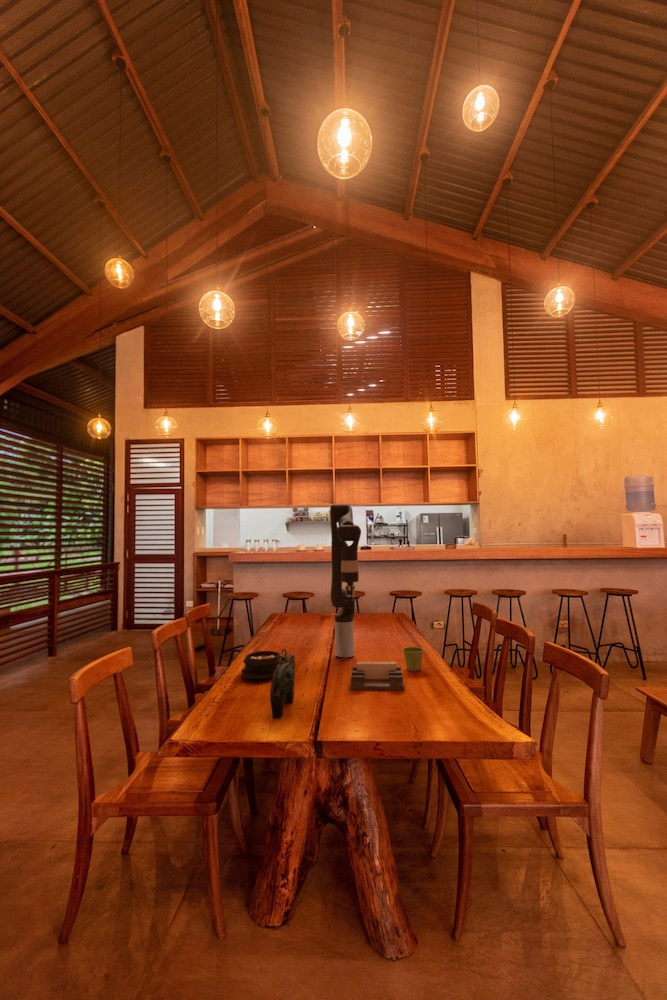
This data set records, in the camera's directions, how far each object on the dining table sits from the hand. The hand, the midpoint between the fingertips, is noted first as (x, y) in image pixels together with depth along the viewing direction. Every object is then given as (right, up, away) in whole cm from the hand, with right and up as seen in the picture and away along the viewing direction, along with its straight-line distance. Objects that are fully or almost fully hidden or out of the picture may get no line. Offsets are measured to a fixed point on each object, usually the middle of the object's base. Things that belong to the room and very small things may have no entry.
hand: (350, 608), depth 206 cm
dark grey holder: (+10, -27, -16) cm, 33 cm away
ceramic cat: (-25, -26, -40) cm, 54 cm away
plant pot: (+28, -28, +4) cm, 40 cm away
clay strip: (+10, -26, -12) cm, 30 cm away
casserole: (-38, -29, +1) cm, 48 cm away
